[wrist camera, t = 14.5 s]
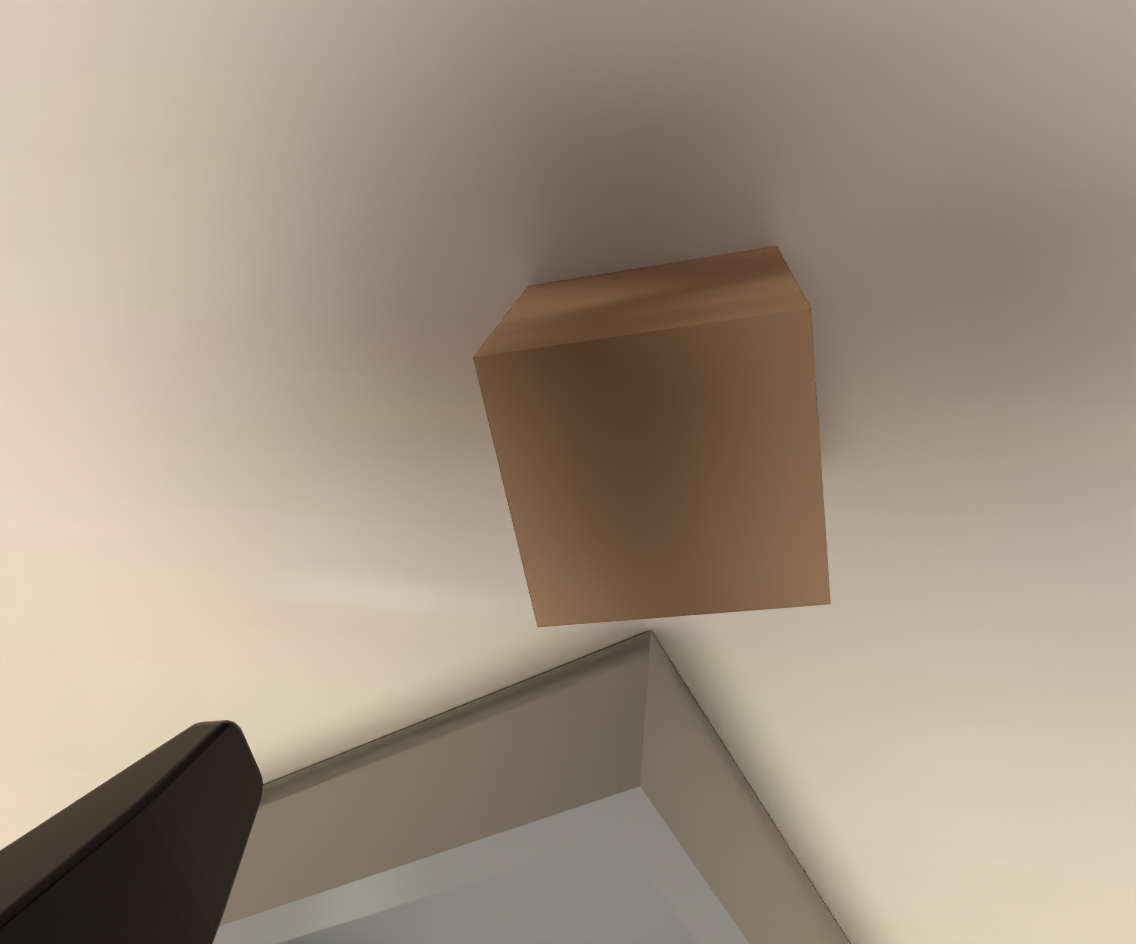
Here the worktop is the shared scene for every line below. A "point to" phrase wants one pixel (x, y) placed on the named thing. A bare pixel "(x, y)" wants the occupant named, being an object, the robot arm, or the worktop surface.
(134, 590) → the worktop surface
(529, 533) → the walnut cube
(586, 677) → the tote
